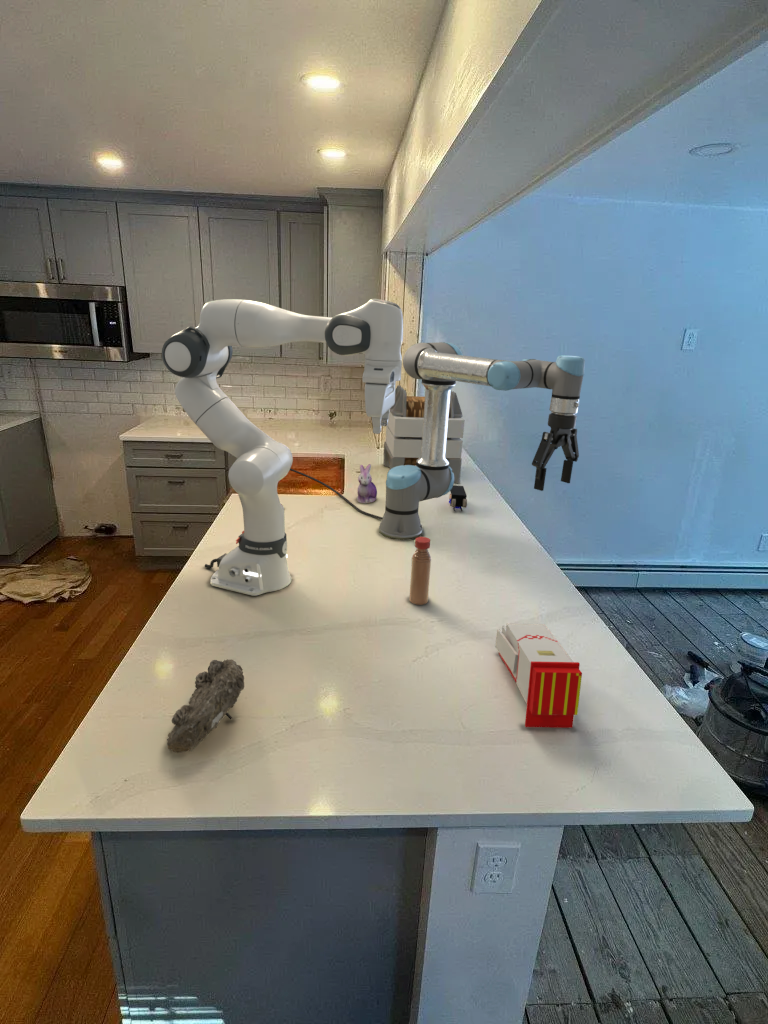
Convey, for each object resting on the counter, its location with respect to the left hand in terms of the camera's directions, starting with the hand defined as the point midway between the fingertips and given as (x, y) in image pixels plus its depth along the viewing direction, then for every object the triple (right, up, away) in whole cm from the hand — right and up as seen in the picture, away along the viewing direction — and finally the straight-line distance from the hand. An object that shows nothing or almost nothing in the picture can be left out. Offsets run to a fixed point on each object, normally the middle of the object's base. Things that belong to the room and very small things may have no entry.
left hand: (380, 429), depth 140 cm
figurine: (-6, -16, +93) cm, 95 cm away
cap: (+11, -28, +9) cm, 31 cm away
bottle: (+10, -45, +15) cm, 48 cm away
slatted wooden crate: (+18, -2, +135) cm, 137 cm away
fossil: (-32, -59, -32) cm, 74 cm away
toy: (+32, -57, -18) cm, 68 cm away
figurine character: (+30, -19, +90) cm, 96 cm away
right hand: (+50, -13, +26) cm, 58 cm away
